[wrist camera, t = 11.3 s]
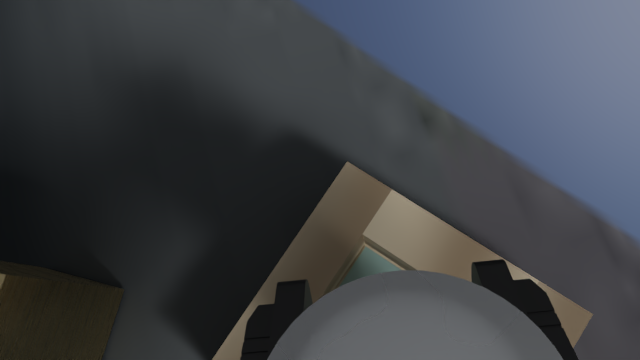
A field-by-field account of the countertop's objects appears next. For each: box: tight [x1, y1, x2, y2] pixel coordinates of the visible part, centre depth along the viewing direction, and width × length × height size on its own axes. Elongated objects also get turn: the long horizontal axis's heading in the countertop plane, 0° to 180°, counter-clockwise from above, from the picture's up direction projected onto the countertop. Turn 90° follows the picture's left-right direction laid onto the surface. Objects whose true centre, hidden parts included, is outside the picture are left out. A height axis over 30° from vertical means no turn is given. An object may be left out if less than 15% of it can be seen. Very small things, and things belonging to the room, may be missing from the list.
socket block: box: [212, 162, 593, 360], centre depth 21 cm, size 10×10×4 cm
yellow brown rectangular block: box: [0, 261, 124, 360], centre depth 21 cm, size 4×4×8 cm
